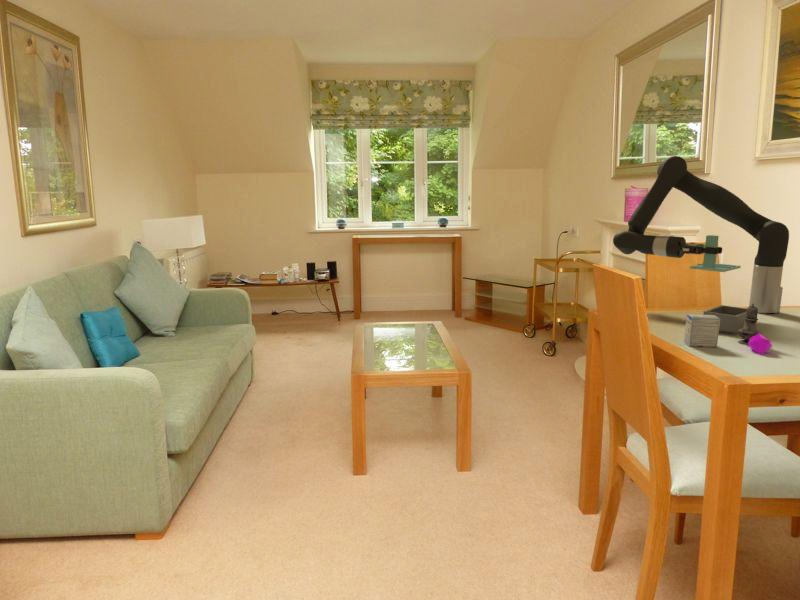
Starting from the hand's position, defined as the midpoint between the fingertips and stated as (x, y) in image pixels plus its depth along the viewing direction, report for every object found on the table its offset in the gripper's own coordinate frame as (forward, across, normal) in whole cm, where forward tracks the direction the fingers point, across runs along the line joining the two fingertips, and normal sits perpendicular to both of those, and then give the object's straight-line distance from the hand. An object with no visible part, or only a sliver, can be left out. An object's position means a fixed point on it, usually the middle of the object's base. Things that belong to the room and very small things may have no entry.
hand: (719, 250), depth 211 cm
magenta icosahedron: (+25, -36, +24) cm, 50 cm away
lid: (-3, +6, +7) cm, 10 cm away
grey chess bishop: (+20, -28, +24) cm, 41 cm away
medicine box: (+11, -41, +24) cm, 49 cm away
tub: (+9, -12, +24) cm, 28 cm away
